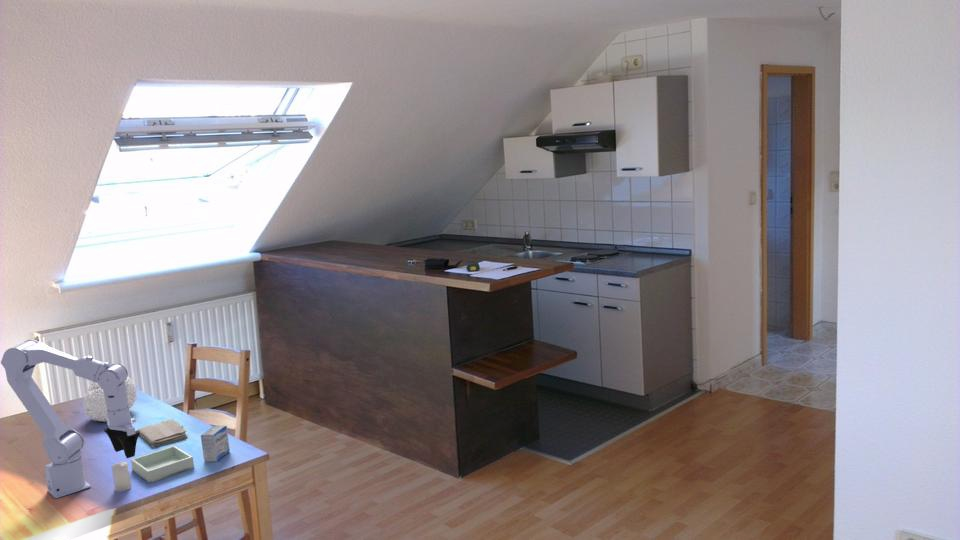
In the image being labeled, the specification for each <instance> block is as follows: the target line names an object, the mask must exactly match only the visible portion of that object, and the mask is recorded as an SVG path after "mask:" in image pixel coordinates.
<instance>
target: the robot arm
mask: <svg viewBox="0 0 960 540" xmlns="http://www.w3.org/2000/svg"><path fill="white" fill-rule="evenodd" d="M42 363H46V364H49V365H53V366H56V367H61V368H64V369H68V370H72V372H73V374H74V375H75V376H76V377H78V378H81V379H85V380H87V381H91V382H92V381H93V382H96V383H98V384H99V386H100V387H101V388H102V389H103V391H104V396H105V402H106V408H107V415H108V418H107V422H106V424H107V427H106V428H104V429H103V432H104V433H105V435H106V436H107V437H108V439H109V440H110V442H111V444H112V446H113V449H114V452H115V453H117V452H121V451H123V453H124V456H125V458H126V459H130V458H132V457H135V455H136V449H137V448H136V447H137V442H138V439H139V436H140V432H139V431H137V430H136V429H135V427H134V425H133V423H135V422H136V418H135V417H132V416H131V410H130V409H129V403H128V396H127V390H126V384H125V382H124V381H125V380H126V379H127V377H129V373H128V369H127V367H125V366H124V365H123V364H121V363H119V362H117V363H112V364H110V362H107V361H105V362H103V361H101V360H98V359H94V357H93V356H92V355H87V356H81V357H79V358H78V357H76V356H72V355H71V354H68V353H66V352H63V351H60V350H58V349H55V348H53V347H52V346H51V347H50V346H49V345H47V344H46V343H45V342H42V341H38V340H36V339H27V340H25V341H24V342H21V343H20V344H18V345H15V346H13V347H10V348H8V349H5V351H4V352H3V355H2V358H1V360H0V364H1V365H2V367H3V368H4V371H5V377H6V381H7V383H8V385H9V386H10V388H11V389H12V391H13V392H14V393H15V396H17V398H18V399H19V401H20V402H21V403H22V405H23V406H24V408H25V409H26V411H27V412H28V414H29V415H30V416H31V418H32V419H33V421H34V423H35V424H36V425H37V426H38V428H39V429H40V431H41V432H42V434H43V437H42V446H43V448H44V449H45V450H44V451H45V454H46V457H47V459H48V460H49V461H50V463H48V464H45V465H44V475H45V480H46V486H47V492H48V493H49V494H50V495H51V496H52V497H53V498H54V499H58V498H59V499H60V498H62V497H64V496H68V495H71V494H74V493H76V492H77V493H78V492H79V491H80V492H81V491H83V490H85V489H86V490H87V489H89V488H91V487H92V485H91V484H90V483H89V482H88V481H86V475H85V471H84V470H85V469H84V463H83V457H82V449H83V448H84V445H85V439H84V436H83V434H81V433H80V432H79V431H77V430H75V428H73V425H71V424H68V423H65V422H63V421H62V420H61V418H60V416H59V415H58V413H57V412H56V410H55V409H54V408H53V406H52V405H51V403H50V401H49V400H48V399H47V397H46V396H45V394H44V393H43V392H42V390H41V389H40V387H39V386H38V384H37V382H36V381H35V380H34V379H33V377H32V376H33V373H34V371H35V370H34V369H35V367H36V366H37V365H38V364H42ZM123 382H124V383H123Z"/></svg>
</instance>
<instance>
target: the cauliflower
mask: <svg viewBox="0 0 960 540" xmlns="http://www.w3.org/2000/svg"><path fill="white" fill-rule="evenodd" d="M124 382H125V384H126V390H127V396H128V403H129V410H130V409H131V408H132V407H134V404H135V402H136V401H137V388H136V385H135V383H134V382H133V380H132V379H131V378H130V377H129V376H128V377H127V379H126V380H125V381H124ZM124 382H123V383H124ZM87 388H88V389H87V392H86V393H85V395H84V397H83V402H82V405H83V406H82V407H83V410H84V414H85V415H86V417H87V418H88V419H90V420H93V421H96V422H106V423H107V418H108V415H107V408H106V402H105V396H104V391H103V389H102V388H101V387H100V386H99V384H98V383H96V382H93V381H91V382H90V385H89V386H88V387H87Z"/></svg>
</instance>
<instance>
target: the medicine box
mask: <svg viewBox="0 0 960 540" xmlns="http://www.w3.org/2000/svg"><path fill="white" fill-rule="evenodd" d="M200 440H201V446H202V447H201V448H202V454H203V455H202V456H203V461H204V462H208V463H209V462H211V463H212V462H214V463H216V462H217V461H218V462H219V461H220V460H222V458H224V457H225V456H226V455H228V453H229V452H231V450H230V444H229V443H230V441H229V435H228V427H227V425H221V424H220V425H213V426H212V427H210V428H209V429H207V430H206V431H205V432H203V433H202V434H200ZM224 455H225V456H224ZM218 462H217V463H218Z"/></svg>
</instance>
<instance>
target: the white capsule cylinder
mask: <svg viewBox="0 0 960 540" xmlns="http://www.w3.org/2000/svg"><path fill="white" fill-rule="evenodd" d="M111 472H112V473H111V474H112V477H113V485H114V490H115V491H114V492H118V493H120V492H122V493H123V492H125V491H129V490H130V489H131V488H132V483H131V477H130V469H129V463H128V462H126V461H121V462H120V461H119V462H117V463H114V464H113V465H112V466H111Z"/></svg>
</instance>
